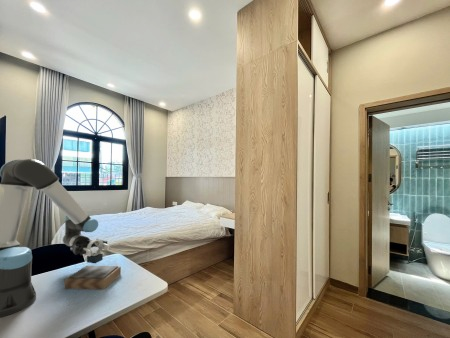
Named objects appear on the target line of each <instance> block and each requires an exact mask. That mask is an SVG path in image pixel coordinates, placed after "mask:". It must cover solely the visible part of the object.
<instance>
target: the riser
mask: <svg viewBox="0 0 450 338" xmlns="http://www.w3.org/2000/svg"><path fill="white" fill-rule="evenodd" d="M121 267H122V266H118V265H86V266H84V267H82V268H81V269H79V270H77V271H76V272H74V273H72V274H71V275H69V276H68V277H67V278H64V289H65V290H106V288H107V287H108V286H111V285H110V284H112V283H113V282H114V281H116V279H118V278H119V277H120V276H121V275H122V272H121Z"/></svg>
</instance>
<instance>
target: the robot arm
mask: <svg viewBox="0 0 450 338" xmlns="http://www.w3.org/2000/svg"><path fill="white" fill-rule="evenodd" d="M0 177H1V182H0V187H1V188H2V189H3V192H2V195H1V198H0V318H2V317H5V316H9V315H11V314H14V313H17V312H19V311H21V310H24V309H25V308H27V307H29V306H31V305H32V304H33V303H34V302H35V301H36V298H37V291H36V290H35V288H34V285H33V283H32V264H33V254H32V249H31V248H29V247H27V246H20V245H21V243H20V242H19V241H18V240H17V239H18V234H19V230H20V226H21V223H22V219H23V216H24V215H23V214H24V211H25V207H26V203H27V199H28V195H29V192H30V191H31V190H32V189H36V190H37V191H41V192H42V193H44V195H45V196H47V198H49V200H51V202H52V203H54V204H55V206H57V208H58V209H59V210H60V211H61V212H62V213H63V214H64V215H65V221H64V223H65V224H64V225H65V226H64V227H65V228H64V229H65V231H64V232H65V233H64V235H63V237H62V242H63V244H64V245H65V246H67V247H70V251H71V252H73V255H75V256H78V255H79V256H83V255H85V256H86V257H87V256H91V251H92V249H93V248H98V247H97V246H96V245H95V244H94V243H93V244H92V245H91V247H90V248H92V249H91V250H89V249H87V246H88V244H89V243H90V242H91V241H92V240H91V239H90V238H89V237H87V236H86V235H83V234H81V233H82V232H83V233H93V232H95V231H96V230H98V227H99V221H98V220H97V219H95V218H92V217H90V215H89V214H88V213H87V212H86V211H85V210H84V209H83V207H82V205H80V204H79V203H78V202H77V200H76V199H75V198H74V197H73V196H72V195H71V194H70V193H69V191H68V190H67V189H66V188H65V187H64V186H63V185H62V183H61V182H60V181H59V180H60V177H58V175H57V174H56V173H55V171H53V170H52V169H51V168H50V167H49V166H48V165H46V163H44V162H42V161H41V160H38V159H34V158H25V159H13V160H10V161H8V162H6V163H4V164H3V165H2V166H1V167H0ZM97 239H98V240H101V241H102V242H103V243H104V245H103V249H102V250H106V251H109V250H110V244H108V240H104V239H99V238H96V239H95V240H97Z"/></svg>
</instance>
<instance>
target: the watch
mask: <svg viewBox="0 0 450 338" xmlns="http://www.w3.org/2000/svg"><path fill="white" fill-rule="evenodd" d="M96 239H97V240H96ZM96 239H93V240H92V241H91V242H90V243H89V244H88V246H87V248H86V249H89V250H91V256H87V255H86V262H87V263H89V264H97V263H99V262H101V261H103V256H104V255H103V253H101V252H102V250H104V249H103V245H104V243H103V242H102V241H101V240H102V239H99V238H96ZM98 239H99V240H98ZM93 243H94V244H95V245H96V246H97V247H96V248H98V250H97V251H96V252H93V251H92V249H91V248H90V247H91V245H92V244H93Z"/></svg>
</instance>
